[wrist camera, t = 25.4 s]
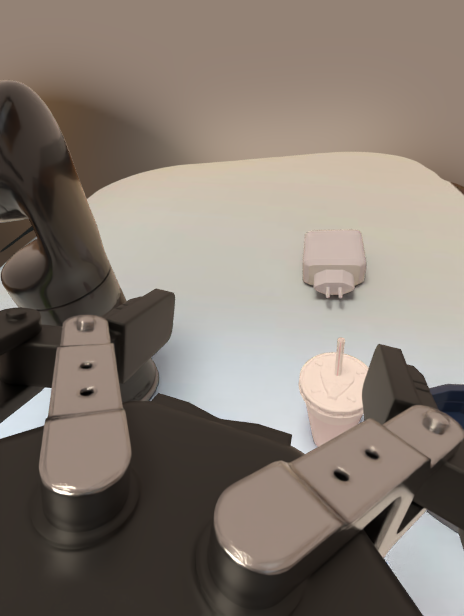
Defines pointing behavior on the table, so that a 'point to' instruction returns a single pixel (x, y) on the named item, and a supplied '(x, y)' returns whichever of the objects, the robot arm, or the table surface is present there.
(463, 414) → the pot
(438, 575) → the table surface
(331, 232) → the charger
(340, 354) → the smoothie
